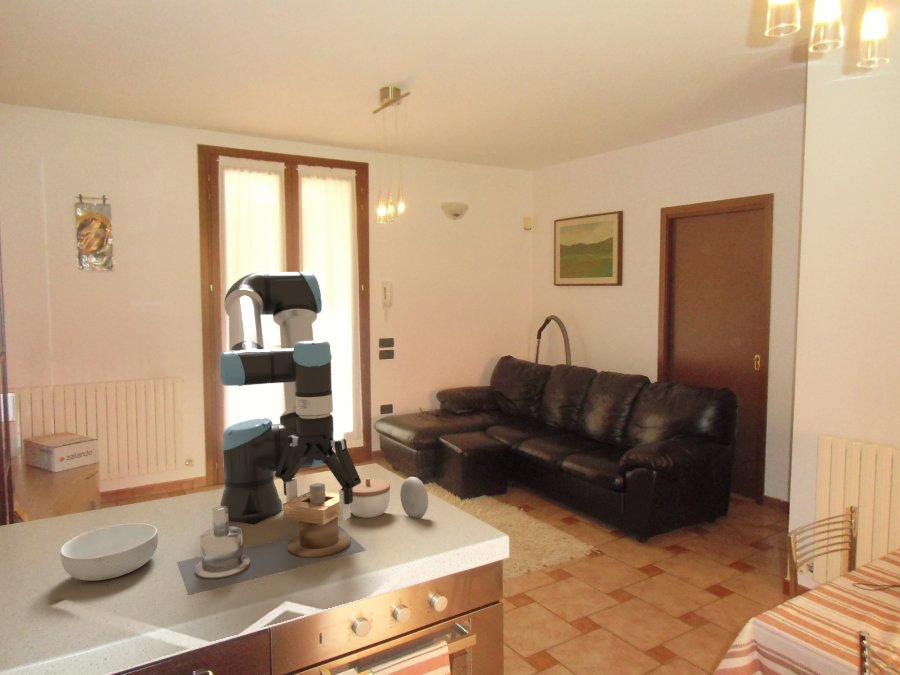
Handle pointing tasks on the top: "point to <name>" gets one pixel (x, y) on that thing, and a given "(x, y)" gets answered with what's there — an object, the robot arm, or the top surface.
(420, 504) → the grey piece
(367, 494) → the lidded jar
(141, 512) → the top surface
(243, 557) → the pale stepped hub
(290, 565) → the rubber mat
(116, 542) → the cereal bowl
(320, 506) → the wooden square ring
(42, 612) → the top surface
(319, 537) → the walnut hub
